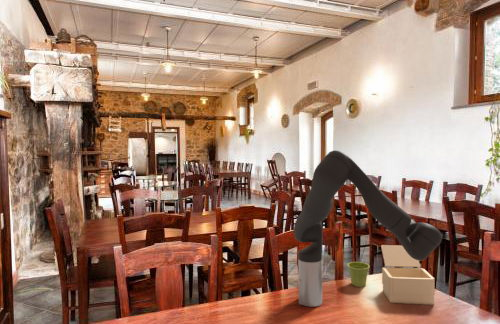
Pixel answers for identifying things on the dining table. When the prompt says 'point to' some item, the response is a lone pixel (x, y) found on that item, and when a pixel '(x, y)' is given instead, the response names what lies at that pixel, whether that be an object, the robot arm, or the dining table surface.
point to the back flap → (398, 256)
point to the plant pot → (358, 273)
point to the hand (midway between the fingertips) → (389, 218)
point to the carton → (408, 285)
